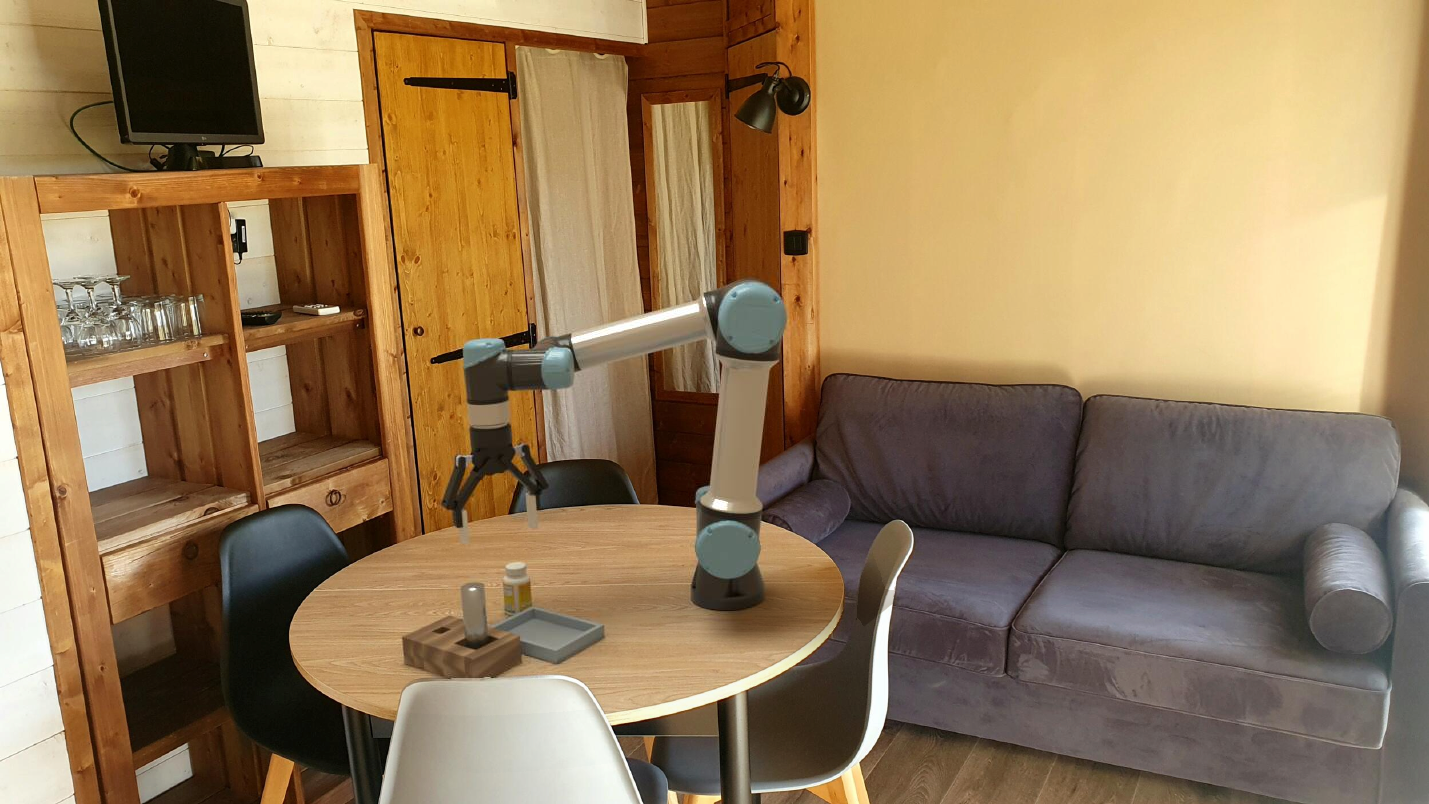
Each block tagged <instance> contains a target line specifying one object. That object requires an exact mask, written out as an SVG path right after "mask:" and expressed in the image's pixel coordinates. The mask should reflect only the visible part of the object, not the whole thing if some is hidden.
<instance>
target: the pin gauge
mask: <svg viewBox="0 0 1429 804" xmlns="http://www.w3.org/2000/svg"><path fill="white" fill-rule="evenodd" d="M460 596H461V598H460V599H461V609H462V610H461V611H462V619H463V623H464V635H465V647H467V648H470V649H473V650H478V649H480V648H482V647H484V646H486V645H488V644H489V638H488V615H487V614H488V613H487V602H486V601H487V600H486V590H485V584H484V583H482V582H478V581H477V582H469V583H468V582H467V583H464V584H463V585H461V586H460Z"/></svg>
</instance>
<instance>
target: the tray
mask: <svg viewBox="0 0 1429 804" xmlns="http://www.w3.org/2000/svg"><path fill="white" fill-rule="evenodd" d="M489 627H492V628H496V629H499V630H502V631H506V632H509V633H513V634H516V635H520V642H521V655H524V656H528V657H531V658H535V659H538V660H542V661H544V662H549V663H552V664H555V665H558V664H560V663H561V662H563V661H566V660H568V659H569V658H571V657H572V656H574V655H576V654H578V653H580V652H581V651H583V650H585V649H586V648H588V647H591V646H593V644H595V643H598V642H600V641H601V640H602V639H605V637H606V635H605V624H603V623H599V622H596V621H591V620H588V619H584V618H580V617H576V616H572V615H569V614H564V613H562V612H557V611H553V610H550V609H546V608H543V607H542V608H541V607H538V606H534V605H532V607H530V608H528V609H526V610H523V611H521V612H519V613H517V614H515V615H513V616H510V617H507V618H505V619H502V620H501V621H499V622H497V623H495V624H492V625H490V626H489Z"/></svg>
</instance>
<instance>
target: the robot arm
mask: <svg viewBox="0 0 1429 804" xmlns="http://www.w3.org/2000/svg"><path fill="white" fill-rule="evenodd" d="M787 316H788V314H787V309H786V307H785V303H784V301H783V299H782V297H781V296H780V295H779V293H778V292H777V291H776V290H775V289H774V288H773V287H772V286H771V285H770V284H768V283H767V282H765V281H762V280H760V279H758V278H751V277H750V278H743V279H738V280H736V281H734V282H731V283H729V284H727V285H724V286H722V287H719V288H715V289H712V290H709V291H706V292H701V294H700V296H699V297H698V299H695V300H692V301H688V302H685V303H681V304H677V305H672V306H669V307H666V308H661V309H659V310H653V311H650V312H646V313H643V314H638V315H634V316H630V317H627V318H623V319H619V320H614V321H612V322H608V323H604V324H600V325H597V326H593V327H588V328H585V329H581V330H577V331H573V332H571V333H566V334H562V335H558V336H556V335H554V336H553V335H552V336H551V335H550V336H548V337H544V338H542V339H541V340H539V341H537V343H536V344H535V345H534V347H532V348H523V349H510V348H509V349H507V347H506V345H505V342H504V340H503V339H500V338H495V337H494V338H490V337H489V338H488V337H487V338H480V339H479V338H478V339H472V340H468V341H467V342H465V343H464V344H463V346H462V356H463V357H462V360H463V362H462V363H463V365H462V370H463V377H464V385H465V392H466V393H465V394H466V406H467V407H466V408H467V419H468V424H470V426H469V427H470V428H468V429H469V430H468V431H469V440H470V443H469V444H470V450H471V451H470V454H469V455H468V454H467V455H460V454H456V455H454V464H453V465H454V467H453V470H452V472H451V476H450V478H449V481H448V483H447V487H446V490H445V492H444V495H443V497H442V499H441V503H440V505H441V507H442V508H444V509H445V510H447V511H452V520H453V526H454V527H455V528H456V529H458V533H459V542H460V543H461V544H463V545H464V546H466V547H467V546H470V545H471V544H470V533H469V522H468V521H469V520H468V512H467V509H465V508H464V506H465V505H466V504H467V502H468V501H469V499H470V497H471V496H472V494H473V493H474V491H475V490H476V488H477V487H478V485H479V483H480V482H481V481H482V480H483V479H484V478H485V476H488V477H490V476H493V475H496V474H505V472H506V471H507V472H508V473H510V474H511V476H513V477H514V478H515V479H516V480H517V481H518V482H519V483H520V484H522V485H523V487H525V489H527V491H529V492H525V503H526V504H525V505H526V514H527V526H528V527H529V528H531V529H532V530H539V527H538V526H539V523H538V511H540V509H541V497H540V496H541V495H542V494H543V491H544V490H548V488H549V487H550V485H549V483H548V482H547V480H546V478H545V476H544V475H543V473H542V471H541V470H540V468H539V466H538V465H537V463H536V462H535V459H534V458H533V457H532V454H531V453H532V452H531V448H530V446H529V444H525V443H524V442H520V443H518V445H515V446H513V431H512V430H513V429H512V424H511V423H509V422H510V421H511V418H512V417H511V408H510V397H509V396H510V395H509V392H517V391H519V392H520V391H547V390H548V391H549V390H550V391H556V390H562V389H563V390H564V389H569V388H571V387H572V386H573V385H574V381H575V373H577V372H580V371H581V372H582V371H584V370H588V369H592V368H596V367H599V366H600V367H601V366H603V365H608V364H612V363H616V362H620V361H624V360H627V359H631V358H632V359H633V358H636V357H639V356H643V355H644V356H645V355H647V354H650V353H655V352H659V351H663V350H666V349H671V348H674V347H678V346H679V347H680V346H682V345H686V344H687V345H688V344H690V343H695V342H697V341H703V340H706V339H708V340H710V341H712V342H714V343H715V349H714V350H715V353H714V355H715V356H716V357H717V359H718V360H719V361H720V363H721V364H722V365H721V366H722V367H721V375H720V384H719V385H720V386H719V392H718V393H719V395H718V402H717V403H718V405H717V414H716V424H715V432H714V443H713V452H712V461H711V471H710V472H711V473H710V481H709V483H710V484H709V485H705V486H703V487H700V488H698V489H697V490H696V492H695V501H694V504H695V511H696V515H695V516H696V531H695V532H696V534H695V535H696V539H695V545H694V550H695V556H696V558H697V563H696V567H695V570H694V574H693V576H692V577H693V578H692V581H691V584H690V600H691V601H692V603H694V604H695V605H697V606H698V607H702V608H704V609H710V610H716V611H734V610H735V611H736V610H742V609H747V608H750V607H755V606H756V605H758V604H760V603H762V601H764V599H765V598H766V585H765V581H764V579H763V576H762V573H761V569H760V567H759V564H758V561H759V558H760V554H761V549H762V548H761V541H760V532H761V524H762V515H763V503H762V502H761V501H760V499H759V498H758V497H757V495H756V494H757V485H758V477H759V468H760V467H759V466H760V458H761V449H762V441H763V431H764V430H763V429H764V424H765V423H764V422H765V414H766V407H767V406H766V405H767V398H768V397H767V396H768V395H767V394H768V387H769V386H768V385H769V378H770V370H771V369H772V368H773V366H775V365H776V364H777V363H779V361H780V354H781V348H782V347H781V346H782V339H783V335H784V333H785V330H786V327H787V322H788V320H787ZM516 455H517V456H518V457H520V459H521V461H522V462H523V464H524V466H525V467H526V470H528V472H529V474H530V476H531V477H532V479H533V480H534V482H535V483H534V482H533V481H532V480H531V479H530V478H528V477H527V476H526V474H524V472H522V471H521V470H520V469H519V468H518V466H516V465H515V464H514V462H512V461H513V460H514V458H515V456H516ZM470 463H471V464H472V466H473V467H472V469H471V470H470V472H469V476H468V477H467V479H466V481H464V484H463V485H462V483H463V482H462V481H463V480H464V479H463V478H464V476H465V473H466V469H467V468H468V467H469V464H470ZM461 486H462V487H461Z"/></svg>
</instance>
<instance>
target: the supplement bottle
mask: <svg viewBox="0 0 1429 804" xmlns="http://www.w3.org/2000/svg"><path fill="white" fill-rule="evenodd" d="M505 574H506V575H504V577H503V578H502V588H503V604H504V607H503V608H504V613H505V614H506V615H508V616H510V617H511V616H513V615H515V614H517V613H519V612H521V611H523V610H526V609H528V608H530V607H532V606H533V602H532V585H531V576H530V575H529V573H527V564H526V563H525V562H522V561H521V562H520V561H516V562H510V563H508V564H506V565H505Z"/></svg>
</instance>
